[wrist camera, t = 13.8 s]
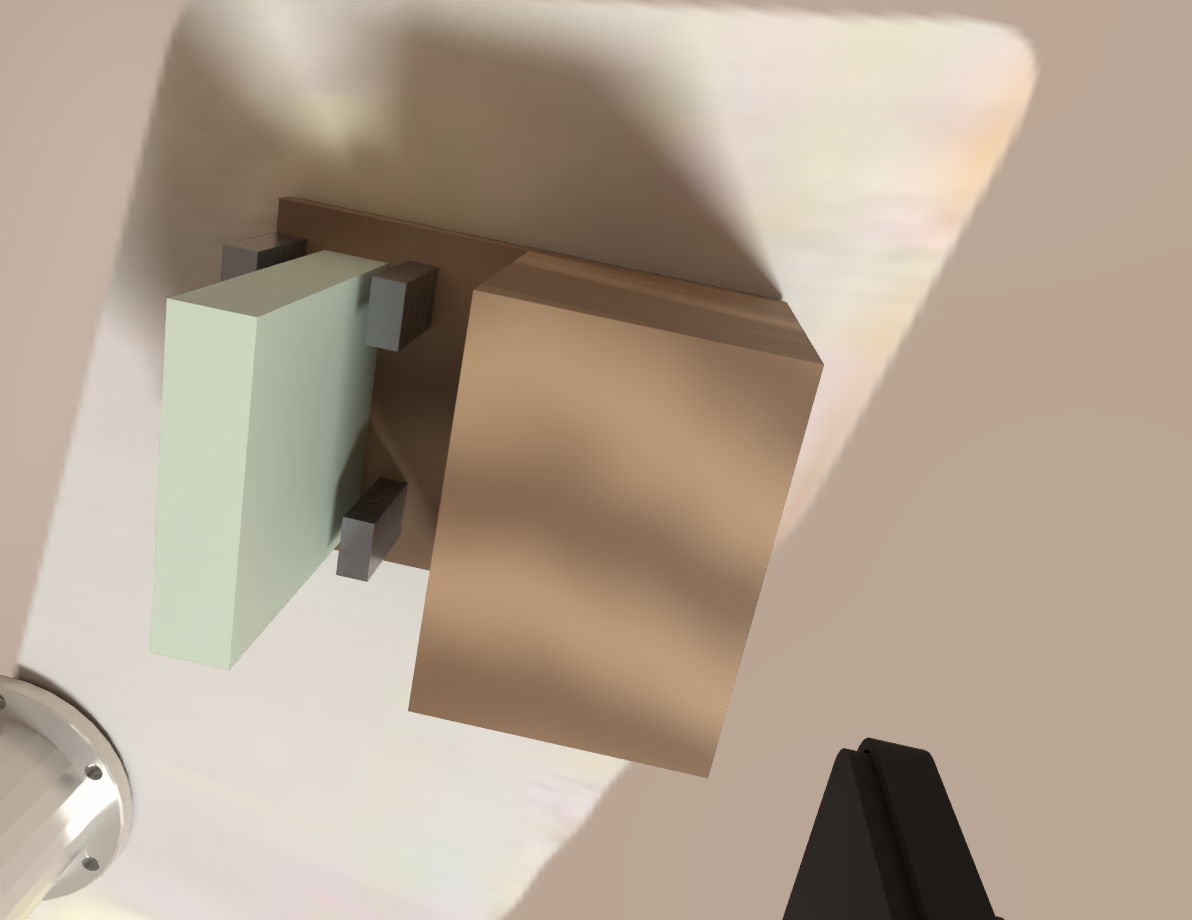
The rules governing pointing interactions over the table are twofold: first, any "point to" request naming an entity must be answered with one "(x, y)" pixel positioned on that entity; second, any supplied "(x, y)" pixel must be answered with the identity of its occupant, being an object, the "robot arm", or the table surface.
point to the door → (257, 446)
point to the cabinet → (580, 484)
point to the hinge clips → (390, 325)
